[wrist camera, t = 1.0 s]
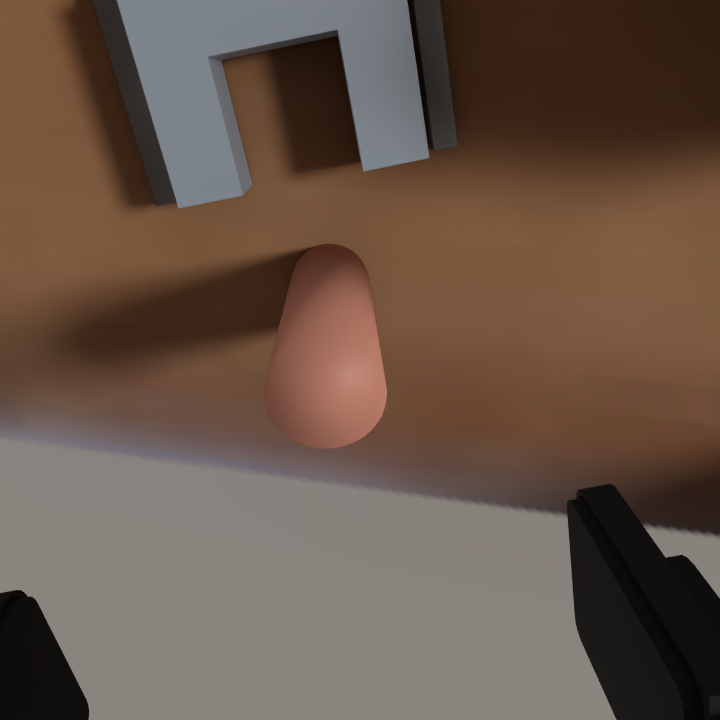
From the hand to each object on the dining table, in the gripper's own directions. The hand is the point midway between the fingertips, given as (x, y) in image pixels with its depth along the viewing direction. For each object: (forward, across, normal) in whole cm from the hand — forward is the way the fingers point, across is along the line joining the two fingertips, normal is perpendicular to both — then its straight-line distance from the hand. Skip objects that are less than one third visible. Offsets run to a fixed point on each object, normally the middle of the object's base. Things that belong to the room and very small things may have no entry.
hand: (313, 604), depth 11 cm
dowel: (+20, 0, 0) cm, 20 cm away
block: (+20, 0, -9) cm, 22 cm away
